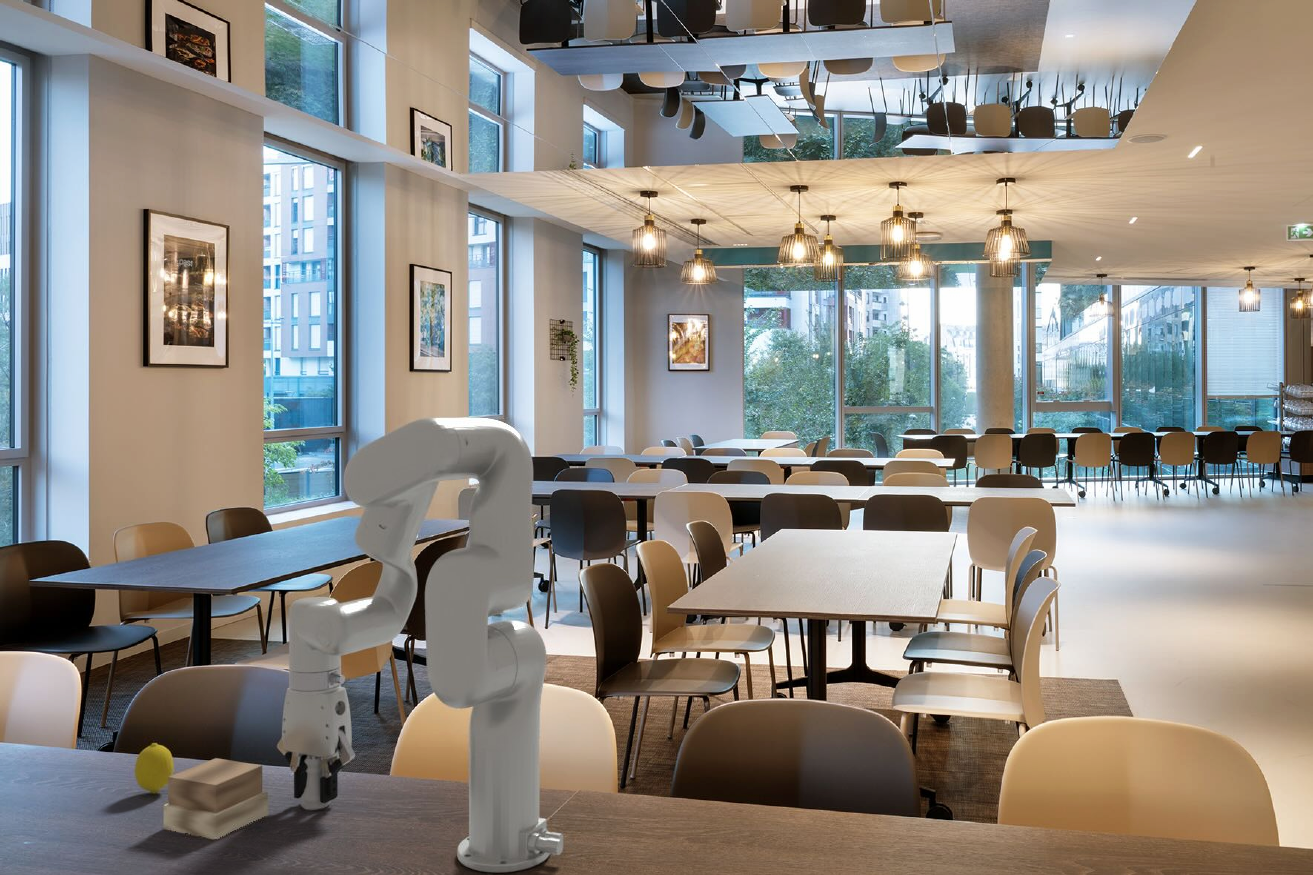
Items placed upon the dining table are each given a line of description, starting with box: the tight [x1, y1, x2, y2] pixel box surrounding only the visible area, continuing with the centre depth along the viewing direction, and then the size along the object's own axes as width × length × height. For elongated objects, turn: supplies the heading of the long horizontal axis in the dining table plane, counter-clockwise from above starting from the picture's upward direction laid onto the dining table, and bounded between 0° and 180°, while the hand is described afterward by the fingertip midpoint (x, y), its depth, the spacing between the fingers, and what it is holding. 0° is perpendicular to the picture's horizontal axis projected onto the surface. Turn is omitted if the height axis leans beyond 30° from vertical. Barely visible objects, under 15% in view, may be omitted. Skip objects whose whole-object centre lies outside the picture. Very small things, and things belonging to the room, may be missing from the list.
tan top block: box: [167, 757, 263, 813], centre depth 152 cm, size 9×9×4 cm
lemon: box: [134, 742, 175, 795], centre depth 164 cm, size 6×6×8 cm
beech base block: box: [162, 790, 269, 840], centre depth 152 cm, size 10×10×4 cm
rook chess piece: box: [300, 755, 332, 811], centre depth 159 cm, size 4×4×8 cm
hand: (315, 796), depth 159 cm, fingers closed on rook chess piece, 4 cm apart
